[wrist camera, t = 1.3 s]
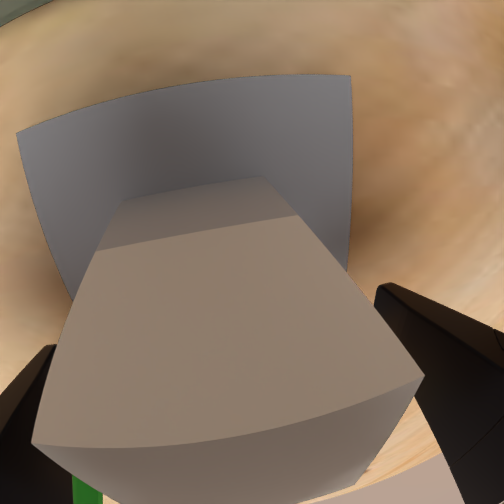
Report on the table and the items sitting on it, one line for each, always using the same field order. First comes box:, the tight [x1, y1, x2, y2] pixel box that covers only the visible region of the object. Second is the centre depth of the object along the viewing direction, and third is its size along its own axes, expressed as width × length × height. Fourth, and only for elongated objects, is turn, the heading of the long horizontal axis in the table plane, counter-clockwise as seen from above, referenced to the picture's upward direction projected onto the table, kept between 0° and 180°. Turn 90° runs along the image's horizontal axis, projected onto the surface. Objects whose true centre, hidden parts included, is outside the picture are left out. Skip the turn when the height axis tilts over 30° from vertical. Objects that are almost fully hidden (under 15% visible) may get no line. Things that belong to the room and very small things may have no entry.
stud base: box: [16, 74, 353, 301], centre depth 10 cm, size 12×12×4 cm
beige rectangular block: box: [31, 176, 425, 504], centre depth 8 cm, size 5×5×9 cm
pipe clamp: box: [72, 475, 103, 504], centre depth 21 cm, size 11×4×5 cm, turn 18°
